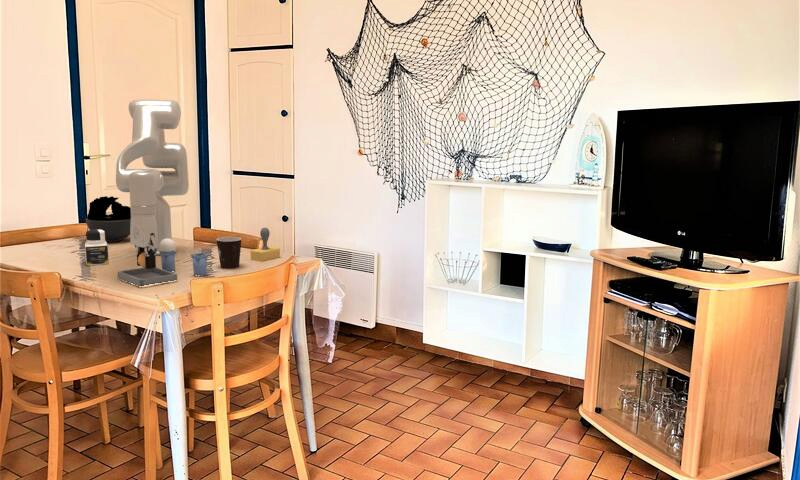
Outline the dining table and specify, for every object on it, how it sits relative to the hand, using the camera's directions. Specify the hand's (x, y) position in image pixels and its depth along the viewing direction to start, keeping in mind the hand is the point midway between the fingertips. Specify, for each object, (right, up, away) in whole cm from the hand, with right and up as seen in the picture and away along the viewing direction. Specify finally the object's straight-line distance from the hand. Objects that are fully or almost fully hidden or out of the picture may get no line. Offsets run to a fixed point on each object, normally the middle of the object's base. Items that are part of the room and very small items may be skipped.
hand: (146, 266), depth 207 cm
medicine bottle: (-27, 0, +24) cm, 37 cm away
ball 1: (0, +2, 0) cm, 2 cm away
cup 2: (+14, -3, +9) cm, 17 cm away
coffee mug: (+21, -2, +21) cm, 30 cm away
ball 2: (+2, +6, +12) cm, 14 cm away
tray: (0, -5, +1) cm, 5 cm away
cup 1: (+2, -2, +14) cm, 14 cm away
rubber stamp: (+31, +1, +37) cm, 48 cm away
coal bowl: (-39, +8, +65) cm, 76 cm away
